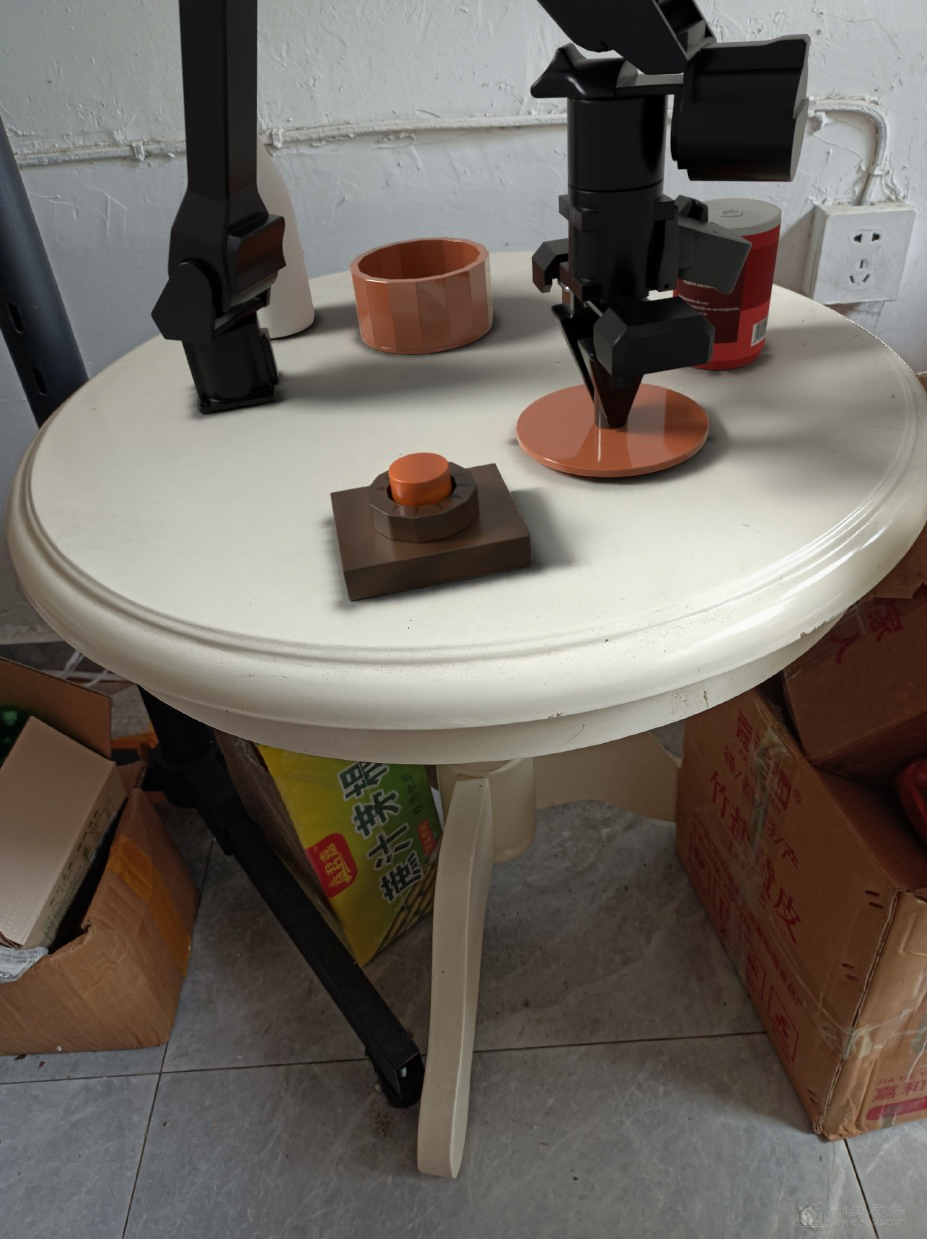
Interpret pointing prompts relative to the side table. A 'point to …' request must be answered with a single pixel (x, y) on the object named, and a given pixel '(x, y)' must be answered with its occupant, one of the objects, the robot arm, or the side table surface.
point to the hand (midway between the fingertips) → (610, 418)
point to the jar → (423, 294)
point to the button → (420, 479)
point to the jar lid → (612, 432)
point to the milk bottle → (291, 286)
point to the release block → (428, 534)
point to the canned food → (739, 283)
